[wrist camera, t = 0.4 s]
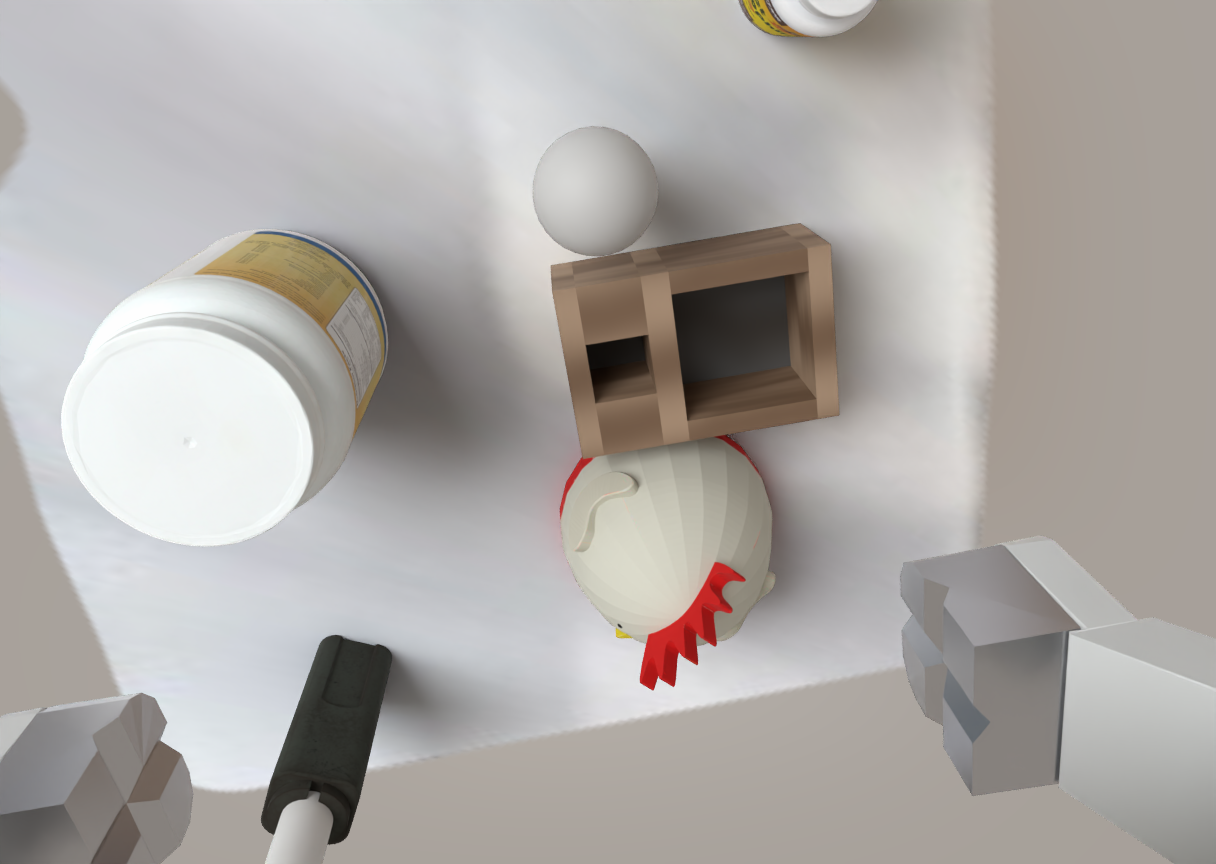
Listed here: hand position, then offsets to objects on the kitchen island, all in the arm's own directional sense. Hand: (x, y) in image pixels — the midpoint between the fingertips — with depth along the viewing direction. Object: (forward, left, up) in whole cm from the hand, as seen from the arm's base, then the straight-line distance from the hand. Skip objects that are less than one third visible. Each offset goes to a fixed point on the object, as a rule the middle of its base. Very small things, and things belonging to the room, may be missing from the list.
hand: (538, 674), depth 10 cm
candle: (+32, -19, -45) cm, 58 cm away
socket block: (+11, +7, -45) cm, 47 cm away
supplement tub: (+7, -16, -45) cm, 48 cm away
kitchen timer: (+24, +4, -45) cm, 51 cm away
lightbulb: (+1, +3, -45) cm, 45 cm away
